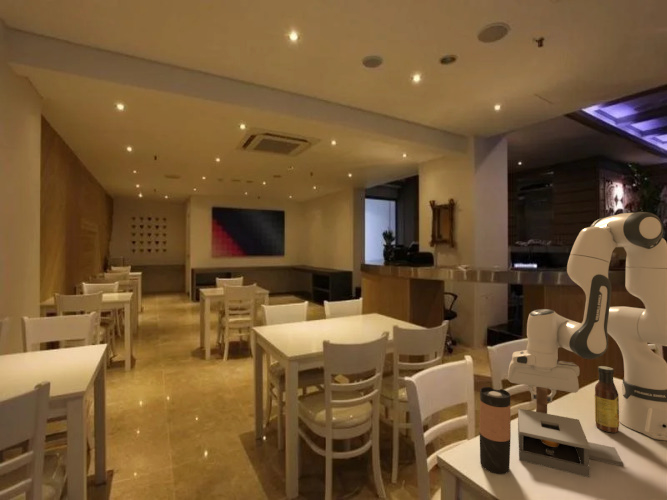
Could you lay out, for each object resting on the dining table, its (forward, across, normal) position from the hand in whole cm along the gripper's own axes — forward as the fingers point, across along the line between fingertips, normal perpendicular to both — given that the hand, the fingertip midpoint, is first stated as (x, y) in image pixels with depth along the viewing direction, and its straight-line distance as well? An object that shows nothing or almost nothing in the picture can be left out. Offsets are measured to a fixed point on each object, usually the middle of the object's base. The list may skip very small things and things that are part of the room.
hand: (541, 400), depth 116 cm
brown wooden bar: (+9, 0, 0) cm, 9 cm away
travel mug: (+9, +13, +31) cm, 35 cm away
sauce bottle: (+9, -19, -8) cm, 22 cm away
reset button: (+6, -1, +17) cm, 18 cm away
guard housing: (+9, -1, +17) cm, 19 cm away
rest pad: (+9, -14, +11) cm, 20 cm away
